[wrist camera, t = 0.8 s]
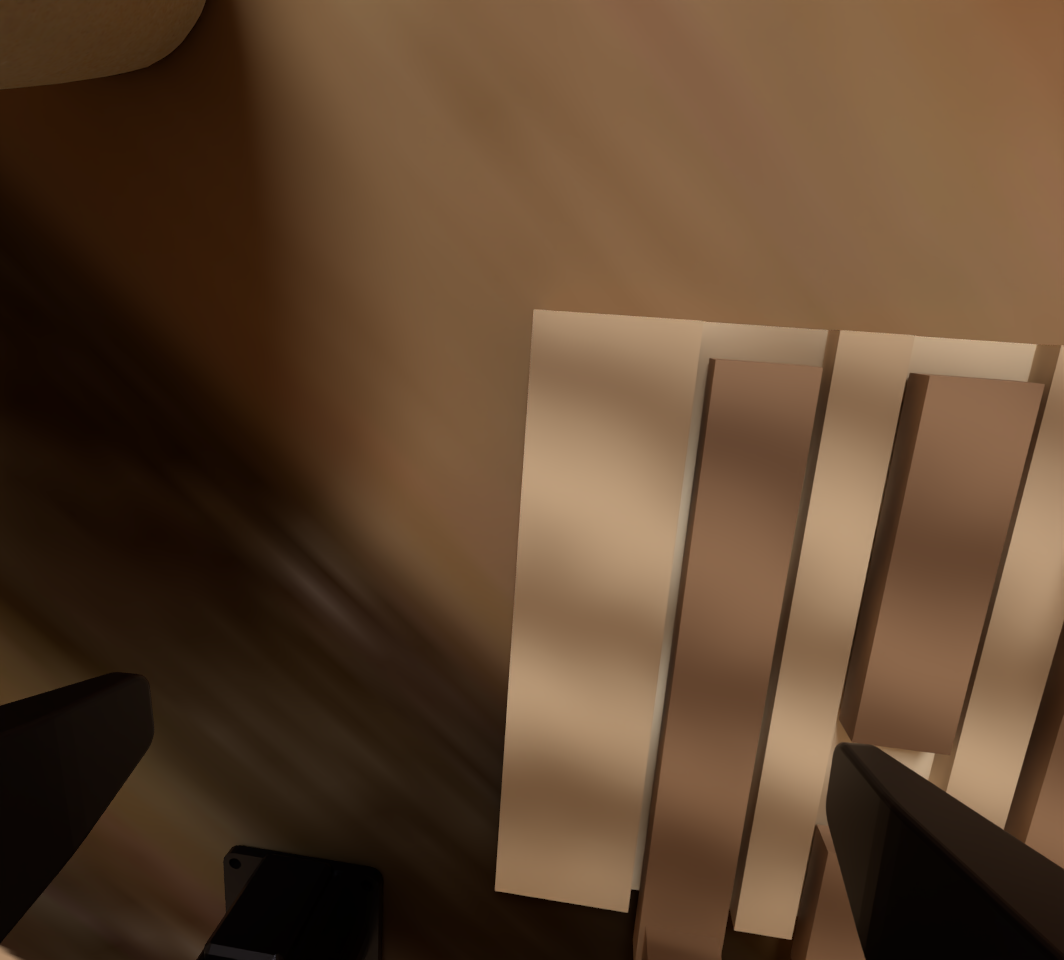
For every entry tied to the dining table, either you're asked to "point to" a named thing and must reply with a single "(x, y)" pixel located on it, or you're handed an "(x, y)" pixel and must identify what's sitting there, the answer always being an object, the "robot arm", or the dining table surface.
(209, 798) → the dining table surface
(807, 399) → the strip
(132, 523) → the dining table surface
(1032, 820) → the strip
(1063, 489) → the lane board
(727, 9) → the dining table surface
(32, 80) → the plant pot
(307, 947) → the robot arm
